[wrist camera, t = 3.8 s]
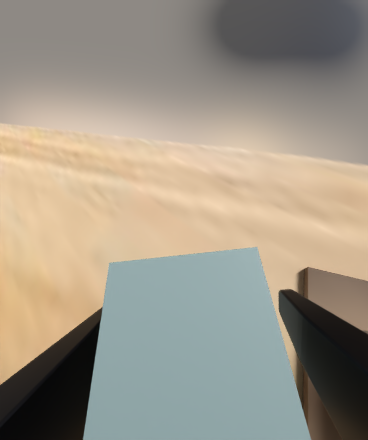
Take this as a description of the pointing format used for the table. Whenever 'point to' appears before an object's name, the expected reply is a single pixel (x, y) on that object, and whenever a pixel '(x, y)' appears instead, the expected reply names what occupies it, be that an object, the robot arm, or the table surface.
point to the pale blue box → (192, 353)
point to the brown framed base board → (345, 309)
